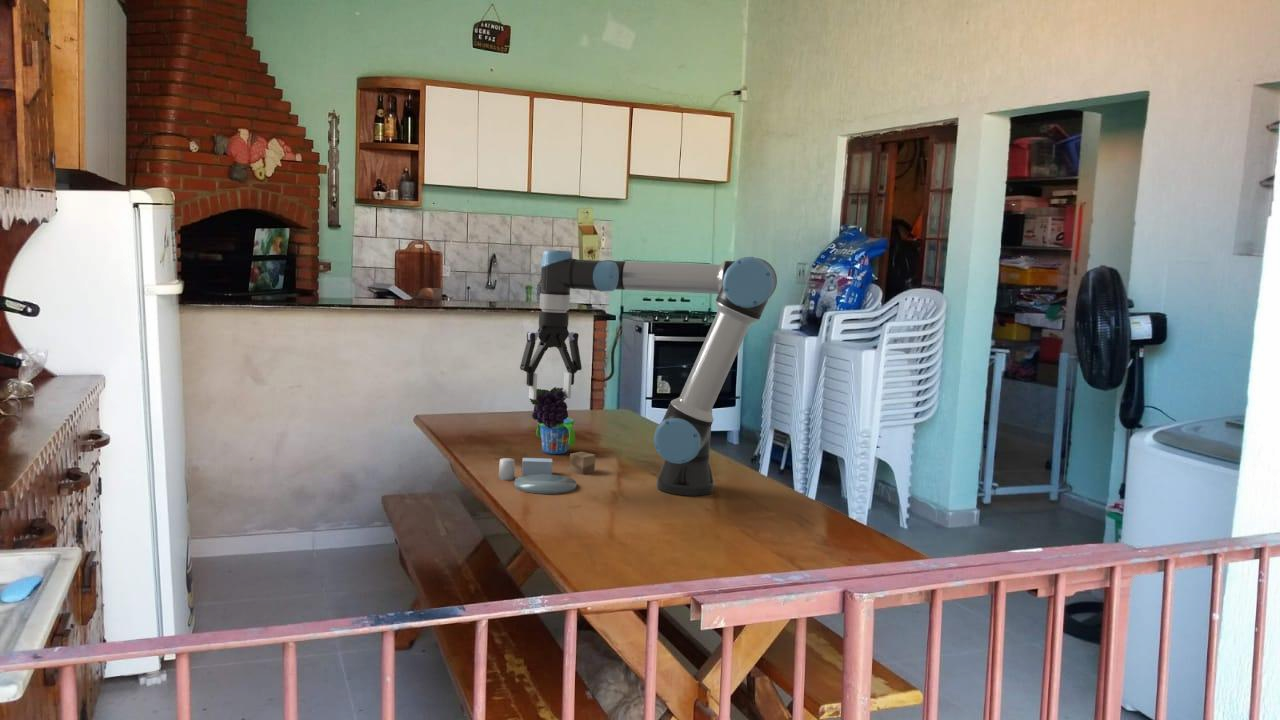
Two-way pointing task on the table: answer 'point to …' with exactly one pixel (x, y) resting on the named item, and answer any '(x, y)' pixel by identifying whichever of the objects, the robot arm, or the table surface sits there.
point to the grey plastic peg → (506, 469)
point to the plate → (545, 484)
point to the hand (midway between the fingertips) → (549, 397)
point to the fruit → (550, 407)
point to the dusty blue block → (536, 466)
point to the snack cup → (557, 437)
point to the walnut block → (582, 463)
